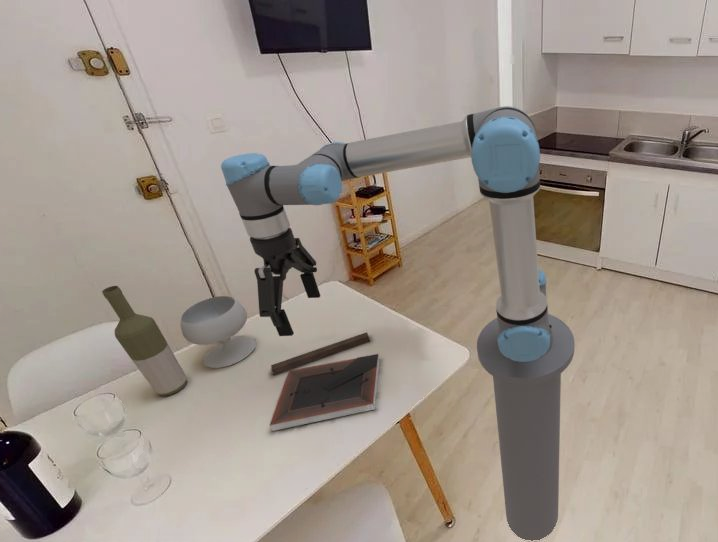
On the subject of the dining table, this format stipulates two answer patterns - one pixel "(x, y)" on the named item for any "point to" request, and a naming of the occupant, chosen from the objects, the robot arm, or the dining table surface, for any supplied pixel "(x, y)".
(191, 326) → the chalice
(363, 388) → the picture frame
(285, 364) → the walnut rail
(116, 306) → the bottle
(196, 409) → the dining table surface
